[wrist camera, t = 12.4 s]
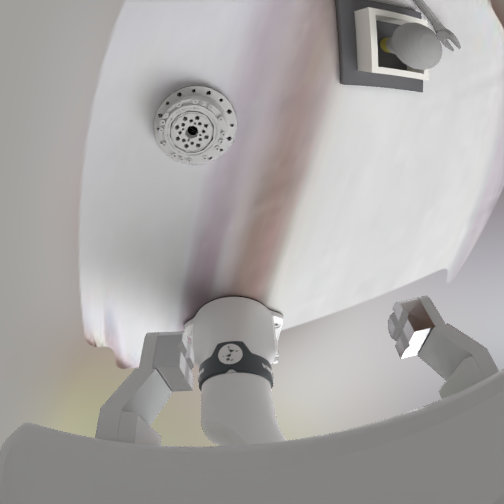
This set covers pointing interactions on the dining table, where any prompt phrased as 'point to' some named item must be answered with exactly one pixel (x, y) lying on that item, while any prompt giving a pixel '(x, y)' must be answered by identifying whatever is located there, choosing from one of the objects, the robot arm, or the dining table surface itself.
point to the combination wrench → (438, 26)
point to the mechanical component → (204, 142)
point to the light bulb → (414, 46)
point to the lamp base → (374, 45)
